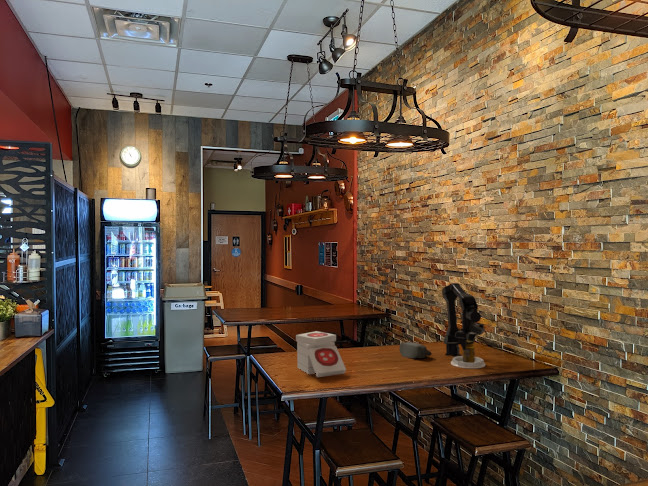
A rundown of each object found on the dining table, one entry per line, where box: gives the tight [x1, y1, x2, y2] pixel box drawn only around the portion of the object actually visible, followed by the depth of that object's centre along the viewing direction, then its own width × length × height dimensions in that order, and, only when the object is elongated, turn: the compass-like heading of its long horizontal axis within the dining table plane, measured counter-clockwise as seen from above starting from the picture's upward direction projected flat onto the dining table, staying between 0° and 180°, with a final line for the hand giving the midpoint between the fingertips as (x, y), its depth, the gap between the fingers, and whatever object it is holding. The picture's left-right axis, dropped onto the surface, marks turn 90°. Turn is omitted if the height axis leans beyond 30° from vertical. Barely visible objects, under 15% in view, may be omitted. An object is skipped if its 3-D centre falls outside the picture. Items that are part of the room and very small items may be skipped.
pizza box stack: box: [295, 330, 347, 378], centre depth 252 cm, size 19×30×18 cm, turn 24°
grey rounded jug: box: [399, 341, 432, 360], centre depth 282 cm, size 18×11×8 cm, turn 33°
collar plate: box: [450, 355, 487, 370], centre depth 264 cm, size 18×18×2 cm
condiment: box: [462, 339, 476, 363], centre depth 263 cm, size 7×8×12 cm
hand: (467, 348), depth 264 cm, fingers open, 9 cm apart
